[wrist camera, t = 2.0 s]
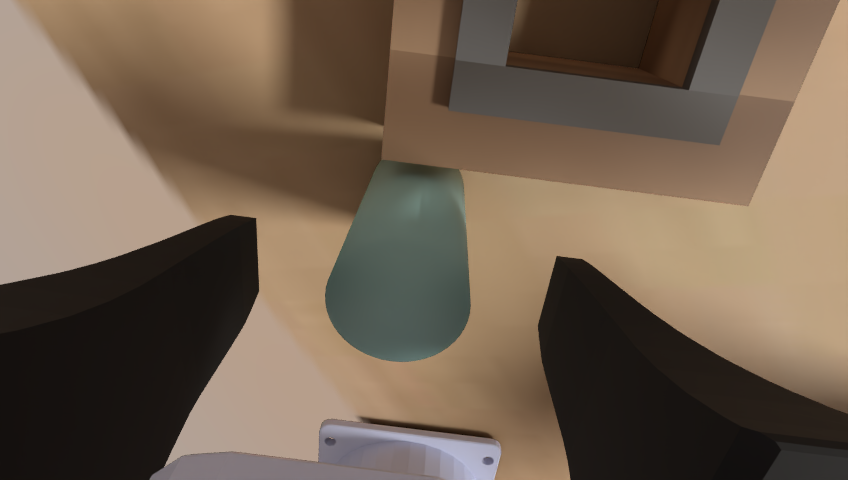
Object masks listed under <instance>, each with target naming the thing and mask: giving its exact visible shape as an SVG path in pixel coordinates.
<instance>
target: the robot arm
mask: <svg viewBox="0 0 848 480" xmlns="http://www.w3.org/2000/svg"><path fill="white" fill-rule="evenodd" d="M258 292H259V277H258V253H257V228H256V218H251V217H243V216H235V215H229V216H225V217H221V218H218V219H215V220H213V221H210V222H207V223H205V224H202V225H200V226H197V227H195V228H192V229H190V230H187V231H185V232H182V233H180V234H177V235H175V236H172V237H170V238H167V239H165V240H162V241H160V242H157V243H154V244H152V245H149V246H146V247H143V248H140V249H137V250H135V251H132V252H129V253H127V254H124V255H121V256H118V257H115V258H111V259H108V260H105V261H102V262H98V263H95V264H91V265H88V266H84V267H81V268H77V269H73V270H69V271H65V272H61V273H56V274H52V275H47V276H42V277H37V278H32V279H27V280H22V281H18V282H13V283H8V284H3V285H0V480H494V478H495V475H496V471H497V467H498V463H499V460H500V456H501V445H500V443H499V442H498V441H497V440H495V439H491V438H483V437H475V436H466V435H458V434H450V433H442V432H434V431H426V430H418V429H410V428H401V427H393V426H385V425H377V424H369V423H361V422H353V421H344V420H336V419H327V420H325V421H324V422H322V424H321V428H320V431H319V461H318V462H314V461H306V460H298V459H290V458H281V457H273V456H265V455H256V454H248V453H240V452H219V453H205V454H191V455H185V456H181V457H180V458H178V459H177V460H175V461H173V462H172V463H170V464H169V465H167V466H166V467H164V466H165V464H166V461H167V460H168V457H169V455H170V453H171V451H172V449H173V447H174V445H175V443H176V440H177V438H178V436H179V434H180V432H181V430H182V428H183V426H184V424H185V422H186V420H187V418H188V416H189V413H190V412H191V410H192V408H193V407H194V405H195V403H196V401H197V400H198V398H199V396H200V395H201V393H202V391H203V390H204V388H205V387H206V385H207V384H208V382H209V380H210V379H211V377H212V376H213V374H214V372H215V371H216V369H217V368H218V366H219V365H220V363H221V361H222V360H223V358H224V357H225V355H226V354H227V352H228V350H229V349H230V347H231V346H232V344H233V342H234V341H235V339H236V338H237V336H238V334H239V333H240V331H241V329H242V328H243V326H244V324H245V322H246V320H247V318H248V316H249V314H250V311H251V309H252V307H253V304H254V302H255V299H256V297H257V295H258ZM538 331H539V341H540V350H541V357H542V363H543V367H544V371H545V375H546V379H547V382H548V386H549V390H550V394H551V397H552V401H553V405H554V408H555V412H556V416H557V419H558V423H559V427H560V430H561V434H562V438H563V441H564V446H565V450H566V455H567V459H568V466H569V472H570V479H571V480H848V414H846V413H843V412H840V411H838V410H835V409H833V408H830V407H827V406H825V405H823V404H820V403H818V402H816V401H813V400H811V399H808V398H806V397H804V396H801V395H799V394H796V393H794V392H792V391H789V390H787V389H785V388H783V387H781V386H778V385H776V384H774V383H772V382H770V381H767V380H765V379H763V378H761V377H759V376H757V375H755V374H753V373H751V372H749V371H747V370H745V369H743V368H741V367H739V366H737V365H735V364H733V363H731V362H730V361H728V360H726V359H724V358H722V357H720V356H719V355H717V354H715V353H713V352H712V351H710V350H708V349H707V348H705V347H703V346H702V345H700V344H698V343H697V342H695V341H693V340H692V339H690V338H688V337H687V336H685V335H684V334H682V333H681V332H679V331H678V330H676V329H675V328H673V327H672V326H670V325H669V324H667V323H666V322H665V321H663V320H662V319H660V318H659V317H657V316H656V315H655V314H653V313H652V312H650V311H649V310H648V309H646V308H645V307H644V306H642V305H641V304H640V303H639V302H637V301H636V300H635V299H633V298H632V297H631V296H630V295H628V294H627V293H626V292H625V291H623V290H622V289H621V288H620V287H618V286H617V285H616V284H615V283H613V282H612V281H611V280H610V279H608V278H607V277H606V276H605V275H603V274H602V273H601V272H600V271H598V270H597V269H596V268H594V267H593V266H592V265H590V264H589V263H587V262H586V261H584V260H583V259H576V258H568V257H560V256H557V257H556V261H555V265H554V268H553V272H552V276H551V279H550V283H549V287H548V290H547V294H546V298H545V302H544V305H543V309H542V313H541V316H540V320H539V324H538ZM329 437H331V438H334V439H331V438H329ZM486 457H489V458H486Z"/></svg>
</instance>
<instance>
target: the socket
mask: <svg viewBox="0 0 848 480" xmlns="http://www.w3.org/2000/svg"><path fill="white" fill-rule="evenodd" d="M839 1H840V0H659V1H658V5H657V8H656V12H655V15H654V18H653V22H652V25H651V28H650V32H649V35H648V39H647V42H646V45H645V49H644V52H643V55H642V59H641V62H640V66H639V68H632V67H624V66H617V65H609V64H601V63H593V62H586V61H578V60H570V59H562V58H555V57H547V56H539V55H532V54H524V53H516V52H508V50H509V44H510V39H511V33H512V28H513V22H514V17H515V11H516V6H517V0H394V7H393V20H392V32H391V45H390V57H389V69H388V82H387V94H386V107H385V119H384V131H383V144H382V156H381V159H382V160H390V161H398V162H405V163H413V164H421V165H429V166H437V167H445V168H453V169H460V170H468V171H476V172H484V173H492V174H500V175H507V176H515V177H523V178H531V179H539V180H547V181H554V182H562V183H570V184H578V185H586V186H594V187H602V188H609V189H617V190H625V191H633V192H641V193H649V194H656V195H664V196H672V197H680V198H688V199H696V200H704V201H711V202H719V203H727V204H735V205H743V206H749V204H750V201H751V199H752V197H753V195H754V192H755V190H756V188H757V186H758V183H759V181H760V179H761V177H762V174H763V172H764V170H765V168H766V165H767V163H768V161H769V159H770V156H771V154H772V152H773V150H774V147H775V145H776V143H777V141H778V138H779V136H780V134H781V132H782V129H783V127H784V125H785V123H786V120H787V118H788V116H789V114H790V111H791V109H792V107H793V104H794V102H795V100H796V98H797V95H798V93H799V91H800V89H801V86H802V84H803V82H804V80H805V77H806V75H807V73H808V71H809V68H810V66H811V64H812V62H813V59H814V57H815V55H816V53H817V50H818V48H819V46H820V44H821V41H822V39H823V37H824V35H825V32H826V30H827V28H828V26H829V23H830V21H831V19H832V17H833V14H834V12H835V10H836V8H837V5H838V3H839Z"/></svg>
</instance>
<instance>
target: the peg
mask: <svg viewBox="0 0 848 480" xmlns="http://www.w3.org/2000/svg"><path fill="white" fill-rule="evenodd" d="M325 301H326V308H327V312H328V315H329V318H330V320H331V322H332V324H333V326H334V327H335V329H336V330H337V332H338V333H339V334H340V335H341V336H342V337H343V338H344V339H345V340H346V341H347V342H348V343H349V344H350V345H352V346H353V347H355V348H356V349H358V350H359V351H361V352H363V353H365V354H367V355H370V356H372V357H375V358H379V359H382V360H388V361H397V362H409V361H416V360H421V359H425V358H428V357H431V356H434V355H436V354H438V353H440V352H442V351H443V350H445V349H446V348H448V347H449V346H450V345H451V344H452V343H453V342H455V341H456V339H457V338H458V337H459V336H460V335H461V333H462V331H463V330H464V328H465V326H466V324H467V322H468V318H469V314H470V306H471V304H470V286H469V268H468V251H467V234H466V216H465V199H464V184H463V179H462V176H461V173H460V171H459V169H453V168H445V167H437V166H429V165H421V164H413V163H405V162H398V161H390V160H381V161H380V162H379V164H378V165H377V167H376V169H375V171H374V173H373V176H372V178H371V180H370V183H369V185H368V187H367V190H366V192H365V194H364V197H363V199H362V201H361V204H360V206H359V209H358V211H357V213H356V216H355V218H354V220H353V223H352V225H351V227H350V230H349V232H348V234H347V237H346V239H345V242H344V244H343V246H342V249H341V251H340V253H339V256H338V258H337V260H336V263H335V265H334V267H333V270H332V272H331V275H330V277H329V279H328V283H327V286H326V293H325Z"/></svg>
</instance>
